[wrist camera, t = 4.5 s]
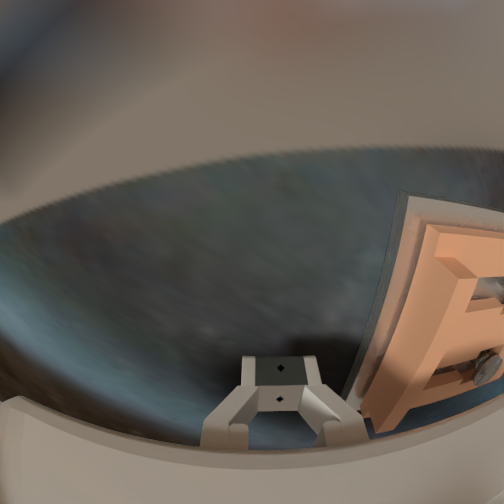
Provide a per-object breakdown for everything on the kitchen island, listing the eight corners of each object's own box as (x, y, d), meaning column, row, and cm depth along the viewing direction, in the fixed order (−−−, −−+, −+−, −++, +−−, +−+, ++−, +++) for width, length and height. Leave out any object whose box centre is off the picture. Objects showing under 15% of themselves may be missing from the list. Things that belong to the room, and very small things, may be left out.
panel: (494, 370, 15) (508, 391, 12) (359, 406, 14) (369, 441, 12) (554, 241, 10) (578, 258, 7) (427, 224, 10) (467, 252, 7)
